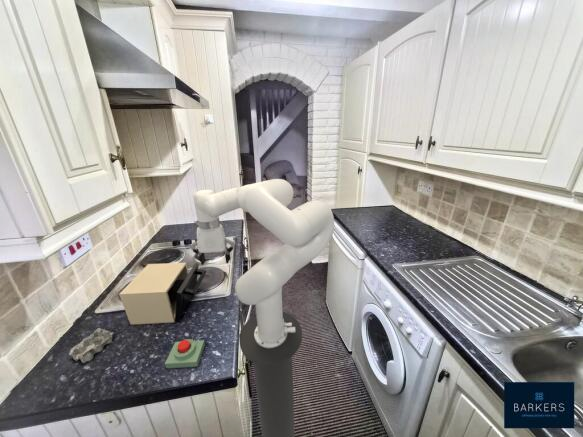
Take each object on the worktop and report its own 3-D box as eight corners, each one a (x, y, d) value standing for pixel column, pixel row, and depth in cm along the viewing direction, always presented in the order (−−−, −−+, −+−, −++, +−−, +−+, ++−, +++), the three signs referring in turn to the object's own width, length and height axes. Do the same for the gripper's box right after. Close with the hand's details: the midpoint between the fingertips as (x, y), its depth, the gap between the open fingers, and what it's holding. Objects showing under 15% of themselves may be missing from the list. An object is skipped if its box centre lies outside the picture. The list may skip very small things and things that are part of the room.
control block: (205, 344, 81) (203, 336, 79) (197, 366, 74) (195, 357, 72) (176, 346, 81) (174, 337, 79) (166, 368, 73) (163, 359, 72)
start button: (192, 343, 77) (191, 339, 77) (188, 353, 74) (187, 349, 73) (181, 343, 77) (180, 340, 77) (176, 353, 74) (175, 349, 73)
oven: (192, 289, 109) (186, 262, 104) (174, 322, 91) (165, 291, 85) (156, 291, 109) (147, 264, 103) (130, 324, 90) (118, 294, 84)
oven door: (205, 290, 110) (208, 265, 105) (190, 323, 91) (193, 294, 86) (192, 288, 109) (195, 262, 104) (174, 321, 90) (176, 292, 85)
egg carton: (85, 365, 75) (80, 356, 73) (70, 359, 77) (65, 350, 75) (117, 338, 84) (113, 330, 83) (102, 333, 86) (98, 325, 85)
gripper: (181, 228, 82) (190, 268, 88) (230, 226, 83) (236, 266, 89) (188, 220, 88) (196, 258, 95) (234, 218, 90) (238, 256, 96)
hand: (215, 262), depth 92 cm, fingers open, 9 cm apart
